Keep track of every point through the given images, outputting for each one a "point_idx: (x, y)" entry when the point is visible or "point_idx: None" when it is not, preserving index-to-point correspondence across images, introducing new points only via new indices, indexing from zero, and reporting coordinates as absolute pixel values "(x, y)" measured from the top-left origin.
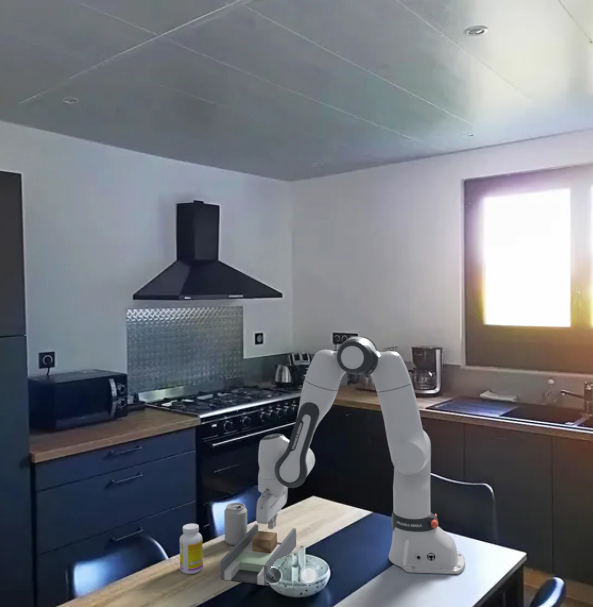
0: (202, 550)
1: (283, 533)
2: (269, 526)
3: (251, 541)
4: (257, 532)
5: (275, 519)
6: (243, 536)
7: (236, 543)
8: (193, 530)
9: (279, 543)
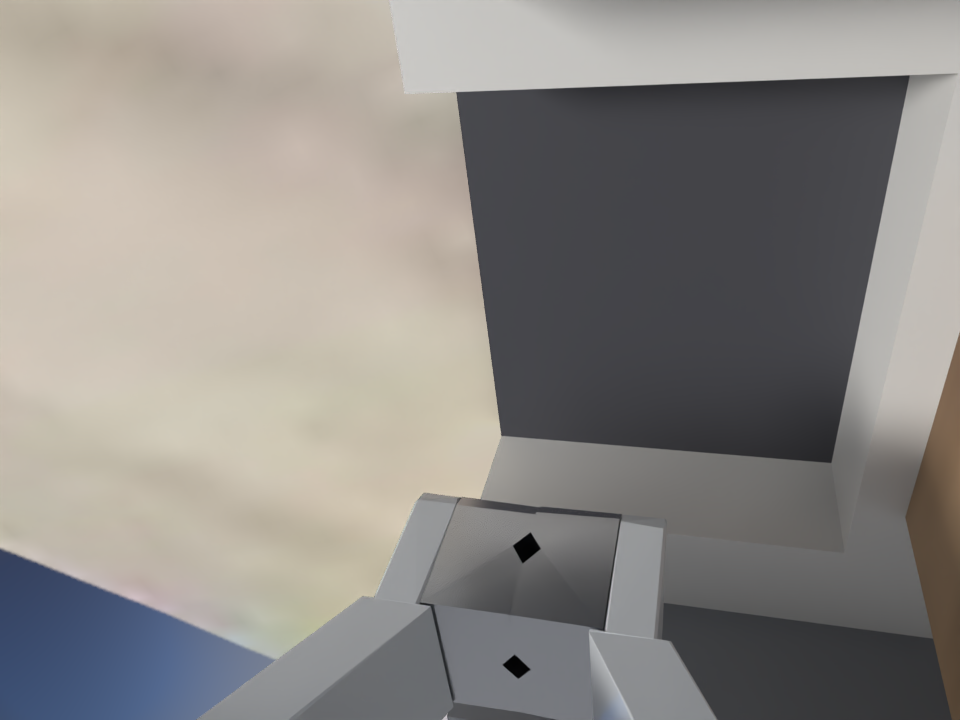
0: None
1: (116, 255)
2: (662, 627)
3: (825, 620)
4: None
5: (397, 644)
6: None
7: None
8: None
9: (507, 196)
